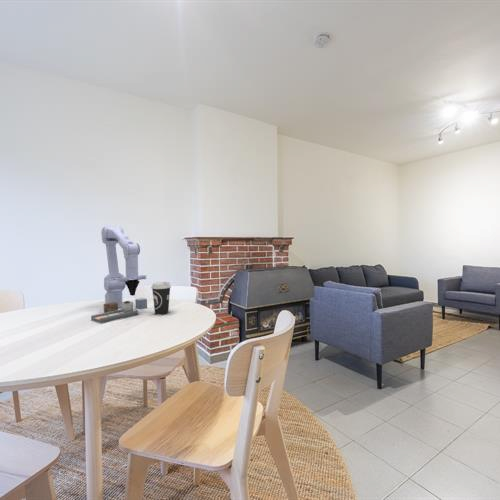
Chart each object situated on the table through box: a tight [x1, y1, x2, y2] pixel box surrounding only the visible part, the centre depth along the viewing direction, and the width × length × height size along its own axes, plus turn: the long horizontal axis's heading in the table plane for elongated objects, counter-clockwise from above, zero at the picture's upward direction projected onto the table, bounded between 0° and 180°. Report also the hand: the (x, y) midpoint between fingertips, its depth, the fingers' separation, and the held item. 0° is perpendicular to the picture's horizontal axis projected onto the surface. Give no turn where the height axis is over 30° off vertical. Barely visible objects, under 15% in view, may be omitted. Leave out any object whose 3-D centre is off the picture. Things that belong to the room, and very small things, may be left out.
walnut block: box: [103, 302, 119, 313], centre depth 144 cm, size 4×4×5 cm
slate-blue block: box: [135, 297, 148, 310], centre depth 154 cm, size 4×4×5 cm
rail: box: [90, 309, 139, 324], centre depth 135 cm, size 9×18×2 cm, turn 143°
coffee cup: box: [150, 281, 172, 315], centre depth 143 cm, size 10×10×15 cm
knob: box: [120, 300, 134, 313], centre depth 140 cm, size 4×4×5 cm
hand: (132, 295), depth 141 cm, fingers closed
